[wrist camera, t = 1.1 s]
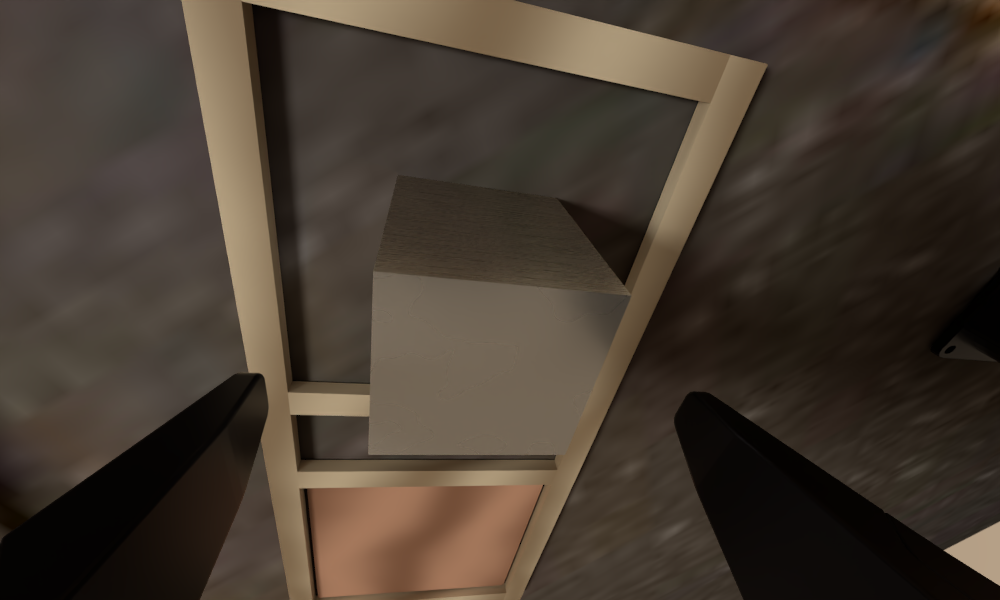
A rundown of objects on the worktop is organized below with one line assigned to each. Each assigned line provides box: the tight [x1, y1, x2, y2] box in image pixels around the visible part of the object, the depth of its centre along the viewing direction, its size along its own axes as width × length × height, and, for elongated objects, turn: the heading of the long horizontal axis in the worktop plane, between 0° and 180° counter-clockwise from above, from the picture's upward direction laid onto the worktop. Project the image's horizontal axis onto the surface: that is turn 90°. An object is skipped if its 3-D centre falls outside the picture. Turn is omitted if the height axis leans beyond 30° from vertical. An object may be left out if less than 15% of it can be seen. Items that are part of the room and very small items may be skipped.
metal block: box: [368, 175, 632, 455], centre depth 11 cm, size 5×5×6 cm
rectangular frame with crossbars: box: [182, 0, 768, 600], centre depth 18 cm, size 14×32×1 cm, turn 169°
